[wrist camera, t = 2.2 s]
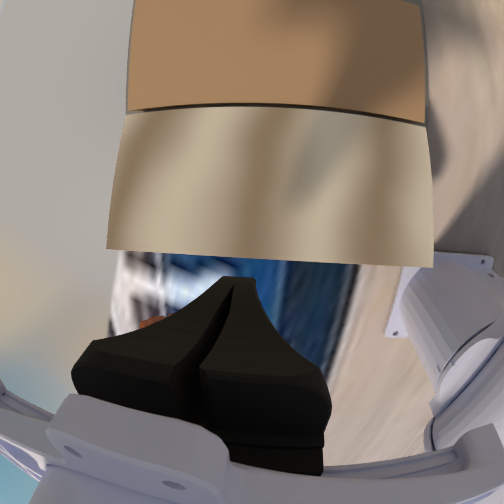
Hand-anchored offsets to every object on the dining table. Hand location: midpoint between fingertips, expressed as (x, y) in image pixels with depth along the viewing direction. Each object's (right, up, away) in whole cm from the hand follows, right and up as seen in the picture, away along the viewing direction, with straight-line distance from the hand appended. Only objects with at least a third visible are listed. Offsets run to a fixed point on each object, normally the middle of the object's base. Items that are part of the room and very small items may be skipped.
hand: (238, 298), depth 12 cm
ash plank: (+2, +6, +4) cm, 7 cm away
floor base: (+2, +11, +5) cm, 12 cm away
